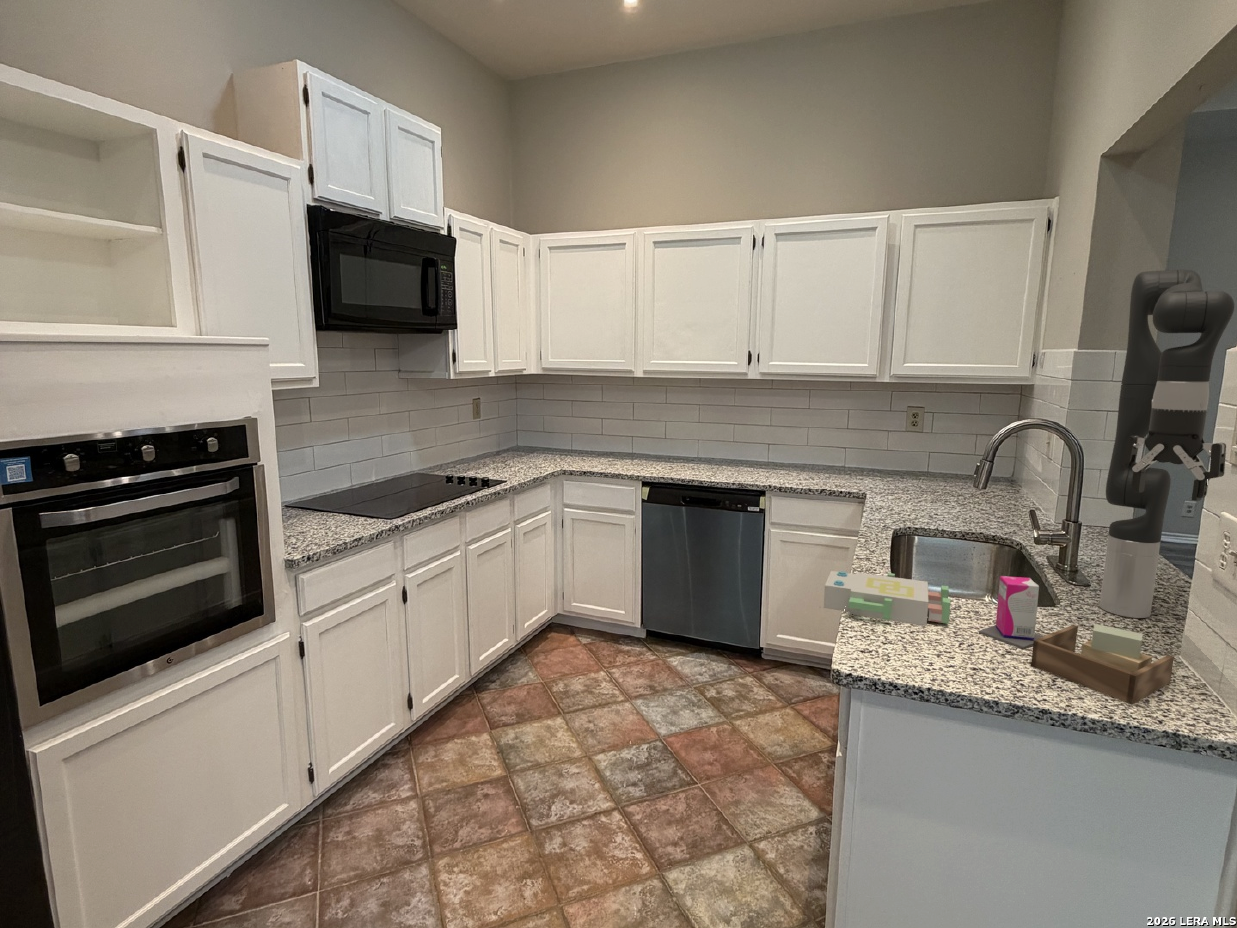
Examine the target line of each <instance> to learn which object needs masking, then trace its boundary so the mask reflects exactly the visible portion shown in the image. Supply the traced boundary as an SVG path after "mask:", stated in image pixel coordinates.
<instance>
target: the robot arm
mask: <svg viewBox="0 0 1237 928" xmlns="http://www.w3.org/2000/svg"><path fill="white" fill-rule="evenodd" d="M1234 310H1235V302H1234V299H1233V298H1232V296H1231V295H1230V294H1229V293H1228V292H1226V291H1223V290H1210V291H1209V290H1208V291H1204V290H1203V284H1202V279H1201V276H1200V275H1199V273H1198V272H1196V271H1194V270H1192V269H1170V270H1169V269H1168V270H1167V269H1166V270H1148V271H1141V272H1139V273H1138V274H1137V275H1136V276H1135V278H1134V280H1133V283H1132V287H1131V292H1130V304H1129V316H1128V317H1129V319H1128V331H1127V332H1128V333H1127V344H1126V345H1127V347H1126V353H1125V361H1124V366H1123V367H1124V368H1123V373H1122V379H1121V384H1120V391H1119V392H1120V393H1119V398H1118V399H1119V401H1118V412H1117V423H1116V430H1115V437H1114V443H1113V447H1112V453H1111V459H1110V463H1109V469H1108V473H1107V478H1106V483H1105V484H1106V485H1105V498H1106V501H1107V503H1109V504H1110V505H1113V506H1119V507H1126V508H1134V509H1141V510H1145V513H1144V514H1142V515H1140V516H1137V517H1134V518H1128V519H1121V520H1116V521H1113V522H1111V523H1110V524H1109V527H1108V536H1107V542H1106V552H1105V560H1104V567H1103V574H1102V575H1103V576H1102V583H1101V590H1100V591H1101V592H1100V600H1099V607H1100V609H1102V610H1103V611H1105V612H1108V613H1111V614H1114V615H1117V616H1121V617H1125V618H1127V617H1128V618H1136V619H1146V618H1150V616H1151V613H1152V606H1153V599H1154V592H1155V584H1156V577H1157V571H1158V563H1159V556H1160V555H1159V554H1160V548H1161V543H1162V542H1161V540H1162V533H1163V528H1164V527H1163V526H1164V525H1163V523H1164V519H1165V513H1166V509H1167V503H1168V500H1169V495H1170V489H1171V475H1170V473H1169V471H1168V470H1167V469H1164V468H1157V467H1150V466H1152V465H1153V464H1155V463H1156V462H1157V463H1162V464H1163V463H1169V464H1173V465H1183V464H1184V466H1185V467H1186V468H1187V469H1188V470H1189V471H1191V473H1192V474H1193V476H1194V477H1195V478H1196V479H1193V487H1192V492H1191V493H1192V494H1191V501H1195V502H1199V501H1201V500H1202V499H1204V498H1205V497H1206V496H1207V493H1208V486H1209V484H1208V485H1207V479H1208V482H1209V481H1210V480H1212V479H1217V478H1221V477H1223V476H1224V475H1225V469H1226V454H1227V444H1226V443H1224V442H1216V443H1213V442H1212V443H1208V442H1207V443H1206V442H1205V440H1204V433H1205V426H1206V418H1207V413H1208V412H1207V411H1208V406H1209V399H1210V377H1211V371H1212V365H1213V360H1214V354H1215V352H1216V349H1217V346H1218V344H1219V343H1220V340H1221V338H1222V336H1223V334H1224V332H1225V331H1226V328H1227V327H1228V324H1229V323H1230V320H1231V319H1232V317H1233V314H1234V312H1235V311H1234ZM1149 316H1152V322H1153V323H1152V324H1153V326H1154V328H1155V330H1157V331H1158V332H1160V333H1164V334H1200V337H1199V338H1198V339H1197V340H1196V341H1195V342H1194V343H1191V344H1186V345H1181V346H1175V347H1170V348H1166V349H1164V350H1163V351H1161V350H1160V347H1159V346H1158V345H1157V343H1156V340H1155V339H1154V337H1153V335H1152V332H1151V329H1150V325H1149ZM1143 445H1145V447H1146V448H1147V450H1148V451H1149V452H1147V453H1146V454H1145V455H1144V456H1143V457H1142V458H1140V460H1139V461H1138V462H1136V460H1137V458H1138V457H1137V456H1138V451H1139V449H1140V448H1142V447H1143ZM1204 450H1205V451H1206V453H1207V455H1208V456H1210V463H1209V470H1208V469H1207V468H1206V467H1205V464H1204V462H1203V461H1202V459H1201V458H1200V457H1199V456H1198V455H1199V454H1200V453H1201V452H1203V451H1204Z"/></svg>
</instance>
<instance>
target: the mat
mask: <svg viewBox="0 0 1237 928" xmlns="http://www.w3.org/2000/svg"><path fill="white" fill-rule="evenodd" d="M978 634H980V635H983V636H986V637H989V638H991V639H994V640H997V641H999V642H1002V643H1003V644H1004V643H1005V644H1007V645H1010V646H1013V647H1015V648H1018V649H1021V650H1025V649H1028V648H1031V647H1033V642H1034V640H1036V639H1038V638H1041V637H1044V636H1045V635H1041V634H1039V633H1036V632H1035V637H1034V640H1025V639H1015V638H1005V637H1003V636H1002V635H1001V633H1000V632H999V630H998V629H997V628H996V624H994V625H992V626H989V627H987V628H983V629H979V631H978Z"/></svg>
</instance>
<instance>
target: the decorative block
mask: <svg viewBox="0 0 1237 928" xmlns="http://www.w3.org/2000/svg"><path fill="white" fill-rule="evenodd" d="M895 575H896V574H895V573H892V572H888V573H887V576H885V575H877V574H871V573H863V572H855V573H850V572H846V571H835V570H834V571H833V570H830V573H829V575H828V577H827V580H826V582H825V583H824V593H823V594H824V595H823V609H829V610H835V611H841V612H842V611H843V612H847V613H848V614H849V615H852V614H853V615H854V616H860V617H864V618H865V617H866V618H871V619H879V620H885V621H892V622H897V623H904V624H912V625H918V626H924V627H927V624H928V621H929V622H936V623H941V624H948V625H949V623H950V613H951V612H950V611H951V604H952V603H951V598H949V593H950V589H949V587H950V586H948V585H941V587H940V592H937V591H931V590H930V591H929V586H928V581H926V580H916V579H908V578H902V577H896V576H895ZM845 606H846V607H845ZM844 609H845V611H844Z"/></svg>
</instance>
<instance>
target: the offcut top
mask: <svg viewBox="0 0 1237 928" xmlns="http://www.w3.org/2000/svg"><path fill="white" fill-rule="evenodd" d="M1091 637H1092V639H1091V640H1092V644H1091V648H1092V649H1096V650H1101V651H1105V652H1109V653H1114V654H1118V655H1122V656H1126V657H1131V658H1135V659H1139V657H1140V653H1141V651H1142V650H1141V649H1142V642H1143V641H1142V640H1143V633H1140V632H1135V631H1131V630H1125V629H1122V628H1116V627H1112V626H1106V625H1102V624H1097V623H1095V624H1094V626H1093V631H1092V636H1091Z"/></svg>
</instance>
